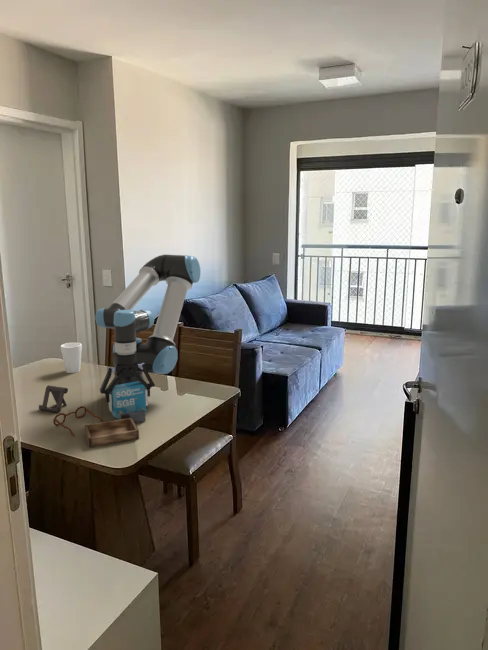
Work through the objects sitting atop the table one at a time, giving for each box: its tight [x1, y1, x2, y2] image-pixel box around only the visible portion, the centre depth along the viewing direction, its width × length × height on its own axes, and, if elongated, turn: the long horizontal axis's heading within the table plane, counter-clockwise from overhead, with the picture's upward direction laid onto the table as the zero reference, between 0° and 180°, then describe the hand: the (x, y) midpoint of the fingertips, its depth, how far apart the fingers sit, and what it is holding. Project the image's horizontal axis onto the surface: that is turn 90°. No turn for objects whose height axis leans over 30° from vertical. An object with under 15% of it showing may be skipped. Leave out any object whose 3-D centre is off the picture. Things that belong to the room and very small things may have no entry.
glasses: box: [52, 405, 105, 437], centre depth 172 cm, size 13×13×5 cm
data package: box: [110, 381, 147, 420], centre depth 181 cm, size 12×4×12 cm, turn 123°
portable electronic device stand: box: [38, 385, 69, 414], centre depth 187 cm, size 9×8×8 cm
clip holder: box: [119, 407, 146, 424], centre depth 182 cm, size 9×16×4 cm, turn 24°
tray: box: [84, 418, 140, 449], centre depth 164 cm, size 16×12×3 cm
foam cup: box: [60, 342, 83, 374], centre depth 232 cm, size 10×9×13 cm
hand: (128, 407), depth 181 cm, fingers closed on data package, 12 cm apart
